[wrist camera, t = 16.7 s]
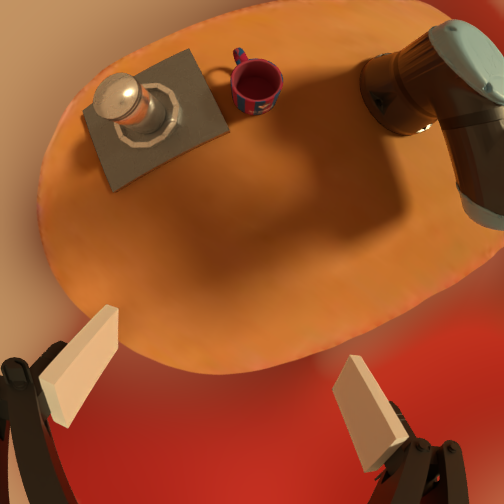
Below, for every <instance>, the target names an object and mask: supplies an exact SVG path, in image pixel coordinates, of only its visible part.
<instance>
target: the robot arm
mask: <svg viewBox="0 0 504 504" xmlns="http://www.w3.org/2000/svg"><path fill="white" fill-rule="evenodd" d="M360 89H361V93H362V97H363V99H364V102H365V104H366V106H367V108H368V109H369V111H370V112H371V114H372V115H373V116H374V117H375V118H376V120H377V121H378V122H379V123H381V124H382V125H383V126H384V127H386V128H387V129H389V130H391V131H392V132H395V133H397V134H401V135H413V134H418V133H421V132H423V131H425V130H427V129H428V128H429V127H430V126H431V125H432V124H433V123H434V122H435V121H436V120H438V121H439V123H440V126H441V129H442V132H443V135H444V138H445V141H446V145H447V148H448V151H449V155H450V158H451V162H452V166H453V169H454V173H455V177H456V186H457V189H458V191H459V193H460V197H461V201H462V205H463V208H464V211H465V212H466V214H467V215H468V216H469V217H470V218H471V219H472V220H473V221H474V222H476V223H477V224H479V225H481V226H484V227H487V228H490V229H494V230H500V231H504V57H503V56H502V54H501V53H500V51H499V50H498V49H497V48H496V46H495V45H494V44H493V43H492V41H491V40H489V38H488V37H487V36H485V35H484V34H483V33H482V32H481V31H480V30H478V29H477V28H475V27H474V26H472V25H470V24H469V23H466V22H464V21H461V20H448V21H446V22H444V23H442V24H440V25H439V26H434V27H432V28H431V29H429V31H428V32H426V33H425V34H424V35H422V36H421V37H419V38H418V39H416V40H415V41H414V42H412V43H411V44H409V45H408V46H407V47H405V48H404V49H403V50H401V51H400V52H394V53H385V54H381V55H378V56H376V57H374V58H373V59H371V60H370V61H369V62H368V63H367V64H366V65H365V66H364V68H363V70H362V72H361V76H360ZM117 349H118V308H116V307H113V306H110V305H107V304H106V305H105V306H104V307H103V308H102V309H101V310H100V311H99V312H98V313H97V314H96V315H95V316H94V317H93V318H92V319H91V320H90V321H89V322H88V323H87V324H86V325H85V326H84V327H83V328H82V330H81V331H80V332H79V333H78V334H77V335H76V336H75V337H74V338H73V339H72V340H71V341H70V342H69V343H68V344H67V343H65V342H63V341H59V342H57V343H54V344H52V345H51V346H50V347H49V348H48V349H47V350H46V352H44V353H43V354H42V356H41V357H39V358H38V360H37V361H36V362H35V363H34V364H33V365H32V366H31V367H30V368H29V366H28V364H27V363H26V361H25V360H23V359H21V358H16V357H13V358H9V359H7V360H5V361H4V362H3V363H2V366H1V371H2V374H3V376H1V375H0V504H10V503H9V491H8V446H9V445H8V444H9V431H10V428H11V434H12V440H13V445H14V450H15V455H16V459H17V463H18V467H19V471H20V475H21V478H22V482H23V485H24V488H25V491H26V494H27V497H28V500H29V503H30V504H78V503H77V501H76V499H75V496H74V494H73V492H72V490H71V487H70V485H69V483H68V480H67V478H66V475H65V473H64V470H63V467H62V465H61V462H60V459H59V456H58V454H57V451H56V447H55V444H54V441H53V437H52V434H51V430H50V427H49V423H48V421H47V418H48V416H49V415H50V413H51V415H52V418H53V420H54V421H55V422H57V423H59V424H61V425H63V426H65V427H67V428H69V426H70V424H71V422H72V421H73V419H74V417H75V416H76V414H77V412H78V411H79V409H80V407H81V405H82V404H83V402H84V401H85V399H86V397H87V396H88V394H89V392H90V391H91V389H92V388H93V386H94V385H95V383H96V381H97V380H98V378H99V377H100V375H101V373H102V372H103V370H104V369H105V367H106V366H107V364H108V363H109V361H110V360H111V358H112V357H113V355H114V354H115V352H116V351H117ZM332 390H333V393H334V395H335V398H336V400H337V403H338V405H339V408H340V410H341V413H342V415H343V418H344V421H345V423H346V426H347V428H348V431H349V433H350V436H351V438H352V441H353V444H354V446H355V449H356V451H357V454H358V456H359V459H360V462H361V464H362V467H363V470H364V472H371V471H376V470H378V469H379V468H380V467H381V466H382V465H383V464H385V467H386V469H385V470H384V471H383V472H381V473H380V474H379V475H378V476H377V477H376V478H375V481H376V480H377V479H378V478H380V479H379V481H378V483H377V486H376V488H375V490H374V492H373V494H372V496H371V498H370V500H369V502H368V504H469V499H468V498H469V497H468V488H467V480H466V473H465V467H464V461H463V456H462V451H461V448H460V446H459V444H458V443H457V442H455V441H452V440H447V441H445V442H444V443H443V444H442V446H441V447H437V446H431V444H430V443H429V442H428V441H427V440H425V439H422V438H416V436H415V434H414V433H413V431H412V429H411V428H410V426H409V424H408V423H407V421H406V420H405V418H404V416H403V415H402V413H401V411H400V409H399V408H398V407H397V406H396V405H395V404H394V403H393V402H392V401H388V400H387V398H386V396H385V395H384V393H383V392H382V390H381V388H380V387H379V385H378V383H377V382H376V380H375V378H374V377H373V375H372V374H371V372H370V370H369V369H368V367H367V365H366V364H365V362H364V361H363V359H362V357H361V356H355V355H349V357H348V359H347V361H346V363H345V366H344V367H343V369H342V371H341V373H340V375H339V377H338V379H337V381H336V383H335V385H334V387H333V388H332ZM439 475H440V480H439V481H437V477H438V476H439Z"/></svg>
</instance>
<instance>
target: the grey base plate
mask: <svg viewBox="0 0 504 504" xmlns="http://www.w3.org/2000/svg"><path fill="white" fill-rule="evenodd" d="M134 78H135V79H136V80H137V81H138V82H139V83H140V84H141V85H142V86H143V87H144V88H145V89H146V90H147V91H148V92H150V93H151V94H152V95H153V96H154V97H155V98H156V99H157V100H158V101H159V102H160V103H161V104H162V105H163V106H164V109H165V119H164V121H163V123H162V125H161V126H160V127H159V128H158V129H157V130H155V131H154V132H152V133H148V134H142V133H139V132H136V131H134V130H132V129H130V128H127V127H125V126H123V125H120V124H118V123H115V122H113V121H109V120H106V119H104V118H102V117H100V116H99V115H98V114H97V113H96V111H95V109H94V106H93V103H92V104H91V105H90V106H88V107H87V108H85V109H84V110H83V114H84V117H85V120H86V123H87V126H88V129H89V132H90V135H91V138H92V141H93V143H94V146H95V149H96V152H97V154H98V157H99V160H100V162H101V165H102V167H103V170H104V172H105V175H106V177H107V180H108V182H109V184H110V187H111V189H112V192H118V191H119V190H121V189H122V188H124V187H126V186H127V185H129V184H131V183H132V182H134V181H136V180H137V179H139V178H141V177H143V176H144V175H146V174H148V173H150V172H151V171H153V170H155V169H157V168H158V167H160V166H162V165H164V164H166V163H168V162H170V161H171V160H173V159H175V158H177V157H179V156H181V155H183V154H185V153H187V152H189V151H191V150H193V149H195V148H197V147H199V146H201V145H203V144H205V143H207V142H210V141H212V140H214V139H216V138H218V137H220V136H223V135H225V134H227V133H229V132H230V130H229V128H228V126H227V124H226V122H225V120H224V117H223V115H222V113H221V111H220V109H219V107H218V105H217V103H216V101H215V99H214V97H213V95H212V93H211V91H210V89H209V87H208V85H207V83H206V81H205V79H204V77H203V75H202V73H201V71H200V69H199V67H198V65H197V63H196V61H195V59H194V57H193V55H192V53H191V51H190V49H186V50H184V51H182V52H180V53H178V54H175V55H173V56H171V57H169V58H167V59H165V60H163V61H161V62H159V63H157V64H155V65H153V66H152V67H150V68H148V69H146V70H144V71H142V72H141V73H139V74H137V75H135V76H134Z"/></svg>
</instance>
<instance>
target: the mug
mask: <svg viewBox="0 0 504 504" xmlns="http://www.w3.org/2000/svg"><path fill="white" fill-rule="evenodd" d="M233 56H234V59H235V62H236V64H237V66H236V67H235V69H234V70H233V72H232V74H231V89H232V97H233V101H234V104H235V105H236V107H237V108H238V109H239V110H241V111H242V112H244V113H247V114H250V115H260V114H264V113H266V112H268V111H269V110H271V109H272V108H273V106H274V105H275V103H276V101H277V98H278V96H279V93H280V91H281V89H282V86H283V77H282V74H281V72H280V70H279V69H278V68H277V67H276V66H275V65H274V64H273V63H271V62H269V61H267V60H264V59H249V60H248V58H247V56H246V54H245V52H244V51H243V49H241V48H236V49H234V51H233Z"/></svg>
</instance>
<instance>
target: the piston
mask: <svg viewBox="0 0 504 504" xmlns="http://www.w3.org/2000/svg"><path fill="white" fill-rule="evenodd" d="M93 106H94V109H95V111H96V113H97V114H98V115H99V116H100V117H102V118H104V119H106V120H109V121H113V122H115V123H118V124H120V125H123V126H125V127H127V128H130V129H132V130H134V131H136V132H139V133H142V134H148V133H152V132H154V131H155V130H157V129H158V128H159V127H160V126H161V125H162V123H163V121H164V119H165V109H164V106H163V105H162V104H161V103H160V102H159V101H158V100H157V99H156V98H155V97H154V96H153V95H152V94H151V93H150V92H148V91H147V90H146V89H145V88H144V87H143V86H142V85H141V84H140V83H139V82H138V81H137V80H136V79H135V78H134V77H133V76H131V75H129V74H126V73H116V74H113V75H111V76H109V77H107V78H106V79H105V80H104V81H102V83H101V84H100V85H99V86H98V88H97V90H96V92H95V94H94V98H93Z"/></svg>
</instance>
